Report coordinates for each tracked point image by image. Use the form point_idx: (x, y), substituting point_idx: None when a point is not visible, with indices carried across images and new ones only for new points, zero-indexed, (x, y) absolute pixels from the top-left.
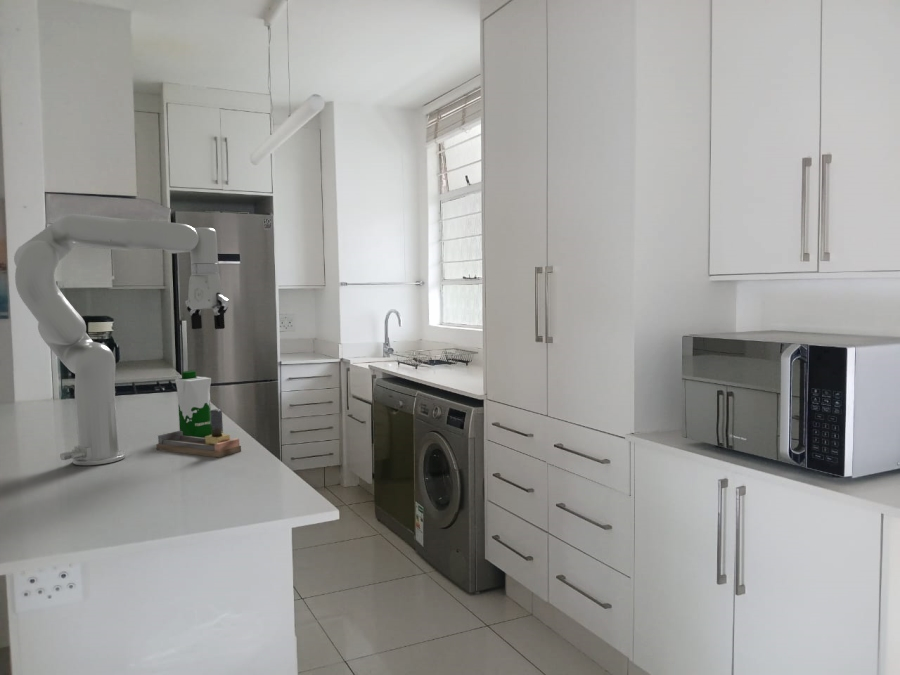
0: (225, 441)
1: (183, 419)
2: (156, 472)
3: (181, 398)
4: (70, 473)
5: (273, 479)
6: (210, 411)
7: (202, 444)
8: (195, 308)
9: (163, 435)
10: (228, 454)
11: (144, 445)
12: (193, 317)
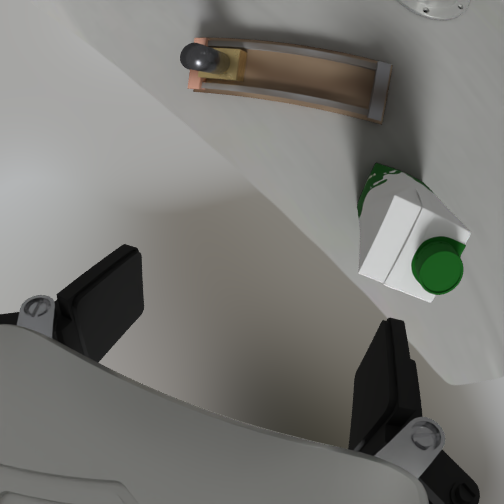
0: None
1: (407, 174)
2: None
3: (423, 189)
4: None
5: (72, 4)
6: (201, 44)
7: (247, 45)
8: (274, 433)
9: (379, 67)
10: None
11: (446, 101)
12: (387, 395)
